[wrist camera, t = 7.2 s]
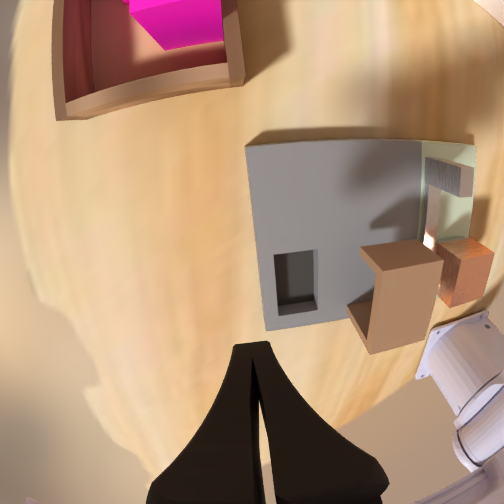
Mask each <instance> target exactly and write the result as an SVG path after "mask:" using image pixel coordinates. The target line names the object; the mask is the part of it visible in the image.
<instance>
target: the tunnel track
mask: <svg viewBox="0 0 504 504" xmlns="http://www.w3.org/2000/svg"><path fill="white" fill-rule="evenodd" d="M245 153H246V161H247V170H248V179H249V187H250V196H251V205H252V214H253V223H254V232H255V241H256V250H257V259H258V268H259V277H260V286H261V295H262V304H263V313H264V322H265V327H266V331H273V330H280V329H287V328H293V327H300V326H306V325H312V324H318V323H324V322H330V321H335V320H341V319H346V318H350V319H351V321H352V323H353V325H354V327H355V328H356V330H357V332H358V334H359V336H360V338H361V339H362V341H363V343H364V345H365V347H366V349H367V351H368V352H369V354H370V355H371V354H375V353H379V352H383V351H387V350H390V349H394V348H398V347H401V346H405V345H408V344H412V343H415V342H418V341H422V340H424V339H425V336H426V333H427V329H428V326H429V323H430V319H431V315H432V312H433V308H434V304H435V300H436V298H438V296H437V291H438V287H439V283H440V278H441V273H442V268H443V263H444V259H442V258H441V257H440V256H438V255H437V254H436V253H435V252H433V251H432V250H431V249H429V248H428V247H427V246H425V245H424V244H423V243H421V242H420V232H421V222H422V210H423V196H424V171H425V157H439V158H443V159H446V160H450V161H453V162H457V163H460V164H464V165H467V166H470V167H473V168H474V180H473V193H472V197H462V198H459V197H457V196H455V195H452V194H450V193H448V192H446V191H443V190H441V194H440V207H439V218H438V227H437V235H436V240H438V239H445V238H451V237H458V236H464V237H466V238H468V236H469V230H470V223H471V216H472V207H473V198H474V187H475V171H476V146H474V145H470V144H465V143H456V142H444V141H430V140H411V139H325V140H306V141H291V142H278V143H267V144H257V145H248V146H245Z"/></svg>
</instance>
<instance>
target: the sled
mask: <svg viewBox="0 0 504 504" xmlns="http://www.w3.org/2000/svg"><path fill="white" fill-rule="evenodd" d="M473 180H474V168H473V167H470V166H467V165H464V164H460V163H457V162H453V161H450V160H446V159H443V158H439V157H425V171H424V196H423V210H422V222H421V232H420V242H421V243H423V244H424V245H425V246H427V247H428V248H429V249H431V250H432V251H433V252H435V253H436V254H437V255H438V256H440V257H441V258H442V259H444V263H443V268H442V273H441V278H440V283H439V287H438V291H437V296H438V297H439V298H440V299H441V300H442V301H443V302H444V303H445V304H446V305H447V306H448V307H449V308H451V307H454V306H458V305H461V304H464V303H467V302H470V301H473V300H476V299H479V298H482V297H483V294H484V291H485V287H486V284H487V280H488V277H489V273H490V269H491V265H492V261H493V256H494V252H493V251H491V250H490V249H488V248H487V247H485V246H484V245H482V244H481V243H479V242H477V241H476V240H474V239H473V238H466V237H464V236H458V237H451V238H445V239H438V240H436V235H437V227H438V218H439V207H440V194H441V190H443V191H446V192H448V193H450V194H452V195H455V196H457V197H459V198H462V197H472V193H473Z"/></svg>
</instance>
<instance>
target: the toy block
mask: <svg viewBox="0 0 504 504" xmlns="http://www.w3.org/2000/svg"><path fill="white" fill-rule="evenodd" d="M122 1H123V2H124V3H125V4H129V12H130V14H131V15H132V16H133V17H134V18H135V19H136V20H137V21H138V22H139V24H140V25H141V26H142V27H143V28H144V29H145V30H146V31H147V32H148V33H149V34H150V35H151V36H152V37H153V38H154V39H155V40H156V42H157V43H158V44H159V45H160V46H161V47H162V48H163V49H164V50H165V51H166V50H170V49H175V48H180V47H186V46H191V45H197V44H203V43H210V42H218V41H224V39H223V26H222V13H221V0H122Z"/></svg>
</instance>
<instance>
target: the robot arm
mask: <svg viewBox="0 0 504 504" xmlns="http://www.w3.org/2000/svg"><path fill="white" fill-rule="evenodd" d="M488 314H489V312H488V310H484V311H481V312H479V313H476V314H473V315H471V316H468V317H465V318H462V319H459V320H457V321H454V322H451V323H448V324H445V325H442V326H438V327H435V328H433V329H432V330H431V331H430V334H429V337H428V341H427V344H426V347H425V350H424V353H423V356H422V358H421V361H420V364H419V367H418V369H417V372H416V375H415V379H416V380H418V379H421V378H424V377H427V376H429V375H431V376H432V377H433V379H434V381H435V382H436V384H437V385H438V387H439V389H440V390H441V392H442V393H443V395H444V396H445V398H446V400H447V401H448V403H449V405H450V406H451V408H452V410H453V411H454V413H455V415H456V416H457V419H456V420H454V424H455V426H456V429H455V430H454V432H453V440H452V443H453V448H454V451H455V453H456V455H457V457H458V459H459V460H460V461H461V463H462V464H463V465H464V466H465V467H467V468H468V469H469V470H470V472H471V473H470V474H468V475H467V476H465V477H463V478H462V479H460V480H458V481H456V482H455V483H453V484H451V485H449V486H447V487H445V488H444V489H442V490H440V491H438V492H436V493H434V494H431V495H429V496H427V497H425V498H423V499H421V500H419V501H416V502H414V503H412V504H504V335H503V334H502V333H501V332H500V331H499V330H498V329H497V328H496V326H495V325H494V324H493V323H492V322H491V321H490V320H489V319H488V318H487V317H488ZM259 402H260V406H261V411H262V415H263V419H264V424H265V428H266V432H267V436H268V442H269V450H270V458H271V466H272V474H273V482H274V490H275V497H276V503H277V504H382V500H381V497H380V495H381V494H382V493H383V492H384V491H385V490H386V489H387V487H388V485H389V480H388V477H387V475H386V473H385V472H384V470H383V468H382V467H381V465H380V464H379V463H378V461H377V460H376V459H375V458H374V457H373V456H371V455H369V454H368V453H366V452H364V451H363V450H361V449H360V448H358V447H357V446H355V445H354V444H352V443H351V442H350V441H348V440H347V439H345V438H344V437H343V436H342V435H340V434H339V433H338V432H337V431H336V430H335V429H333V428H332V427H331V426H330V425H329V424H328V423H326V422H325V421H324V420H323V419H322V418H321V417H320V416H319V415H318V414H317V413H316V412H315V411H314V410H313V409H312V408H311V407H310V405H309V404H308V403H307V402H306V401H305V400H304V399H303V397H302V396H301V395H300V394H299V392H298V391H297V390H296V388H295V387H294V386H293V384H292V383H291V382H290V380H289V379H288V377H287V375H286V374H285V372H284V371H283V369H282V368H281V366H280V364H279V362H278V361H277V359H276V357H275V355H274V353H273V350H272V348H271V345H270V342H268V341H260V342H252V343H243V344H235V345H234V346H233V350H232V355H231V359H230V363H229V366H228V369H227V372H226V375H225V378H224V380H223V383H222V385H221V388H220V390H219V392H218V394H217V397H216V399H215V401H214V403H213V405H212V407H211V409H210V411H209V413H208V414H207V416H206V418H205V419H204V421H203V423H202V424H201V426H200V427H199V429H198V430H197V432H196V433H195V435H194V436H193V438H192V439H191V441H190V442H189V443H188V445H187V446H186V447H185V448H184V449H183V451H182V452H181V453H180V454H179V455H178V457H177V458H176V459H175V460H174V461H173V462H172V463H171V464H170V465H169V466H168V467H167V468H166V469H165V470H164V471H163V472H162V473H161V474H160V475H159V476H158V477H157V478H156V479H155V480H154V481H153V482H152V484H151V486H150V489H149V492H148V496H147V500H146V504H266V502H265V494H264V486H263V478H262V469H261V460H260V450H259ZM25 504H42V503H40V502H38V501H35V500H33V499H31V498H29V497H28V498H26V502H25Z"/></svg>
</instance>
